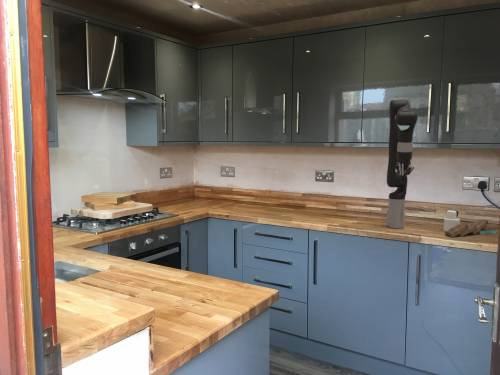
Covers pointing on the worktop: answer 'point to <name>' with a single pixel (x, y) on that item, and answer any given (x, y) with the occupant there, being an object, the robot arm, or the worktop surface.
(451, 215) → the medicine bottle
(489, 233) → the domino
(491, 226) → the domino
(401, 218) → the robot arm
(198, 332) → the worktop surface
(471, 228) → the domino
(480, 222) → the domino
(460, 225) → the domino
